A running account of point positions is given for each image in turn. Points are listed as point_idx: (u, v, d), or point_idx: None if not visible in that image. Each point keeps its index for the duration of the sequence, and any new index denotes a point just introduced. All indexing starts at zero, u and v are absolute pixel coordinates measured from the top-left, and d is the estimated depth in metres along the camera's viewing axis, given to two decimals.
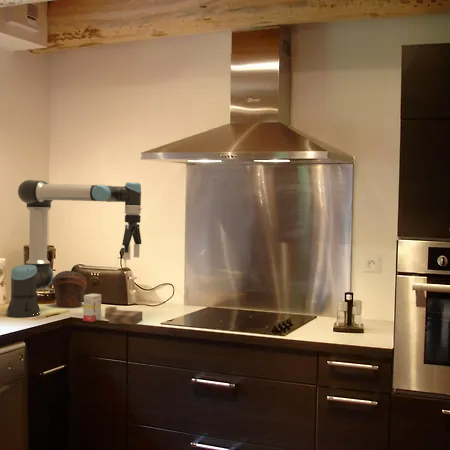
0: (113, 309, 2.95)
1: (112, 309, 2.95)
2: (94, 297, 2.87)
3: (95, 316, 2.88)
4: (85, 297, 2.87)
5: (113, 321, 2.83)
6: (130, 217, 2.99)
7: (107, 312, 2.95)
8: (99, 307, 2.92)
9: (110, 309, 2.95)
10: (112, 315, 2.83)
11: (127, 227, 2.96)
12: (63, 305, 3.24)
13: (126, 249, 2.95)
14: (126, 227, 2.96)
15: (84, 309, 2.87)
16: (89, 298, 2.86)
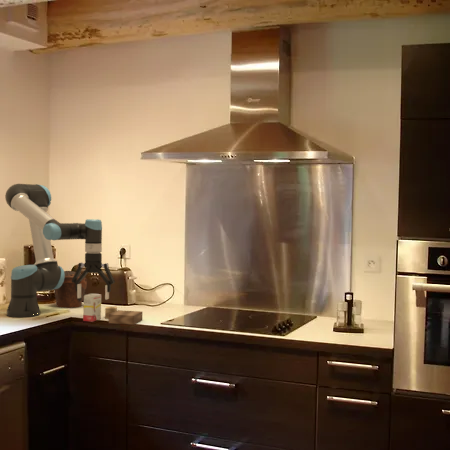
0: (113, 309, 2.95)
1: (112, 309, 2.95)
2: (94, 297, 2.87)
3: (95, 317, 2.88)
4: (85, 297, 2.87)
5: (113, 321, 2.83)
6: None
7: (107, 312, 2.95)
8: (99, 307, 2.92)
9: (110, 309, 2.95)
10: (112, 315, 2.83)
11: None
12: (63, 305, 3.24)
13: None
14: None
15: (84, 309, 2.87)
16: (89, 298, 2.86)
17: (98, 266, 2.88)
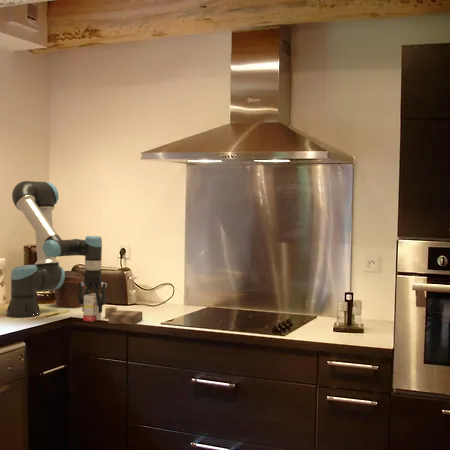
0: (113, 309, 2.95)
1: (112, 309, 2.95)
2: (94, 297, 2.87)
3: (95, 316, 2.88)
4: (85, 297, 2.87)
5: (113, 321, 2.83)
6: None
7: (107, 312, 2.95)
8: None
9: (110, 309, 2.95)
10: (112, 315, 2.83)
11: None
12: (63, 305, 3.24)
13: None
14: None
15: (84, 309, 2.87)
16: (89, 298, 2.86)
17: (97, 283, 2.88)
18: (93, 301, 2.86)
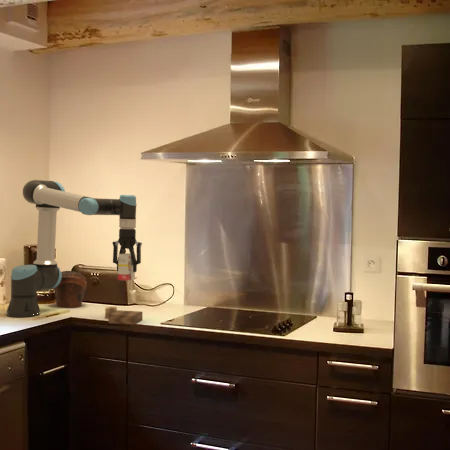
0: (113, 309, 2.95)
1: (112, 309, 2.95)
2: (129, 256, 2.85)
3: (129, 276, 2.86)
4: (120, 256, 2.84)
5: (113, 321, 2.83)
6: None
7: (107, 312, 2.95)
8: None
9: (110, 309, 2.95)
10: (112, 315, 2.83)
11: None
12: (63, 305, 3.24)
13: None
14: None
15: (119, 268, 2.84)
16: (124, 257, 2.83)
17: (132, 242, 2.86)
18: (128, 260, 2.84)
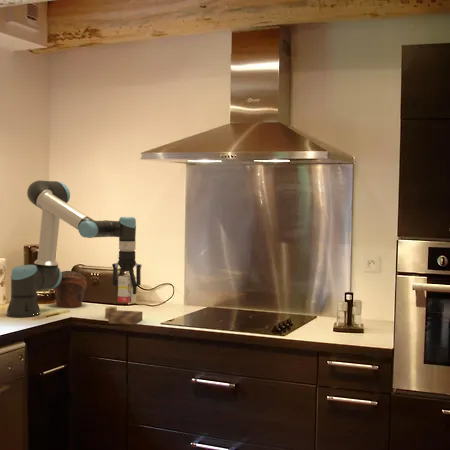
0: (113, 309, 2.95)
1: (112, 309, 2.95)
2: (129, 278, 2.85)
3: (129, 298, 2.86)
4: (120, 278, 2.84)
5: (113, 321, 2.83)
6: None
7: (107, 312, 2.95)
8: None
9: (110, 309, 2.95)
10: (112, 315, 2.83)
11: None
12: (63, 305, 3.24)
13: None
14: None
15: (119, 290, 2.84)
16: (124, 279, 2.84)
17: (132, 264, 2.86)
18: (128, 282, 2.84)
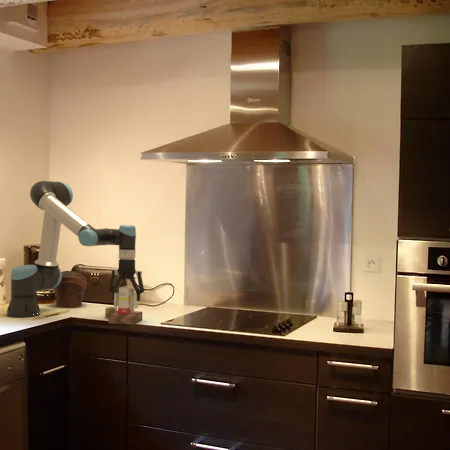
0: (113, 309, 2.95)
1: (112, 309, 2.95)
2: (129, 290, 2.85)
3: (129, 309, 2.86)
4: (120, 289, 2.84)
5: (113, 321, 2.83)
6: None
7: (107, 312, 2.95)
8: (133, 300, 2.90)
9: (110, 309, 2.95)
10: (112, 315, 2.83)
11: None
12: (63, 305, 3.24)
13: None
14: None
15: (119, 302, 2.85)
16: (124, 291, 2.84)
17: (132, 272, 2.86)
18: (128, 294, 2.84)
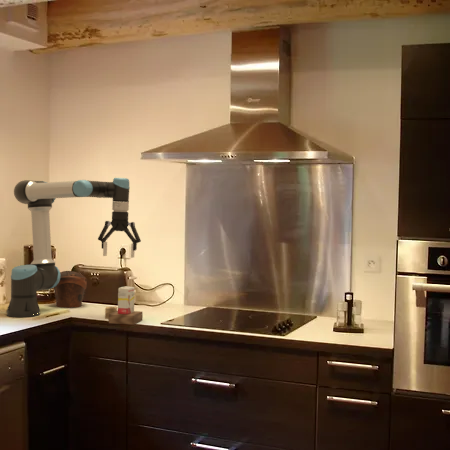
0: (113, 309, 2.95)
1: (112, 309, 2.95)
2: (129, 290, 2.85)
3: (129, 309, 2.86)
4: (120, 290, 2.84)
5: (113, 321, 2.83)
6: None
7: (107, 312, 2.95)
8: (133, 300, 2.90)
9: (110, 309, 2.95)
10: (112, 315, 2.83)
11: None
12: (63, 305, 3.24)
13: None
14: None
15: (119, 302, 2.85)
16: (124, 291, 2.84)
17: (125, 224, 2.90)
18: (128, 294, 2.84)
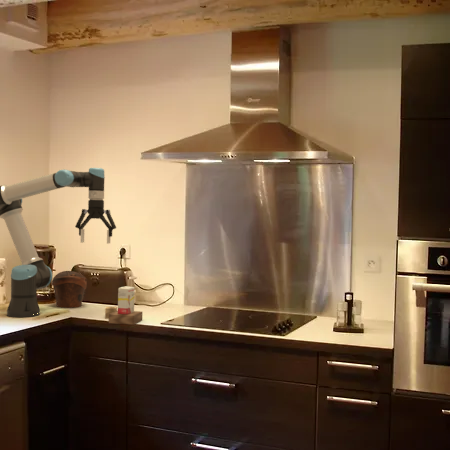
0: (113, 309, 2.95)
1: (112, 309, 2.95)
2: (129, 290, 2.85)
3: (129, 309, 2.86)
4: (120, 290, 2.84)
5: (113, 321, 2.83)
6: None
7: (107, 312, 2.95)
8: (133, 300, 2.90)
9: (110, 309, 2.95)
10: (112, 315, 2.83)
11: None
12: (63, 305, 3.24)
13: None
14: None
15: (119, 302, 2.85)
16: (124, 291, 2.84)
17: (100, 212, 3.05)
18: (128, 294, 2.84)
